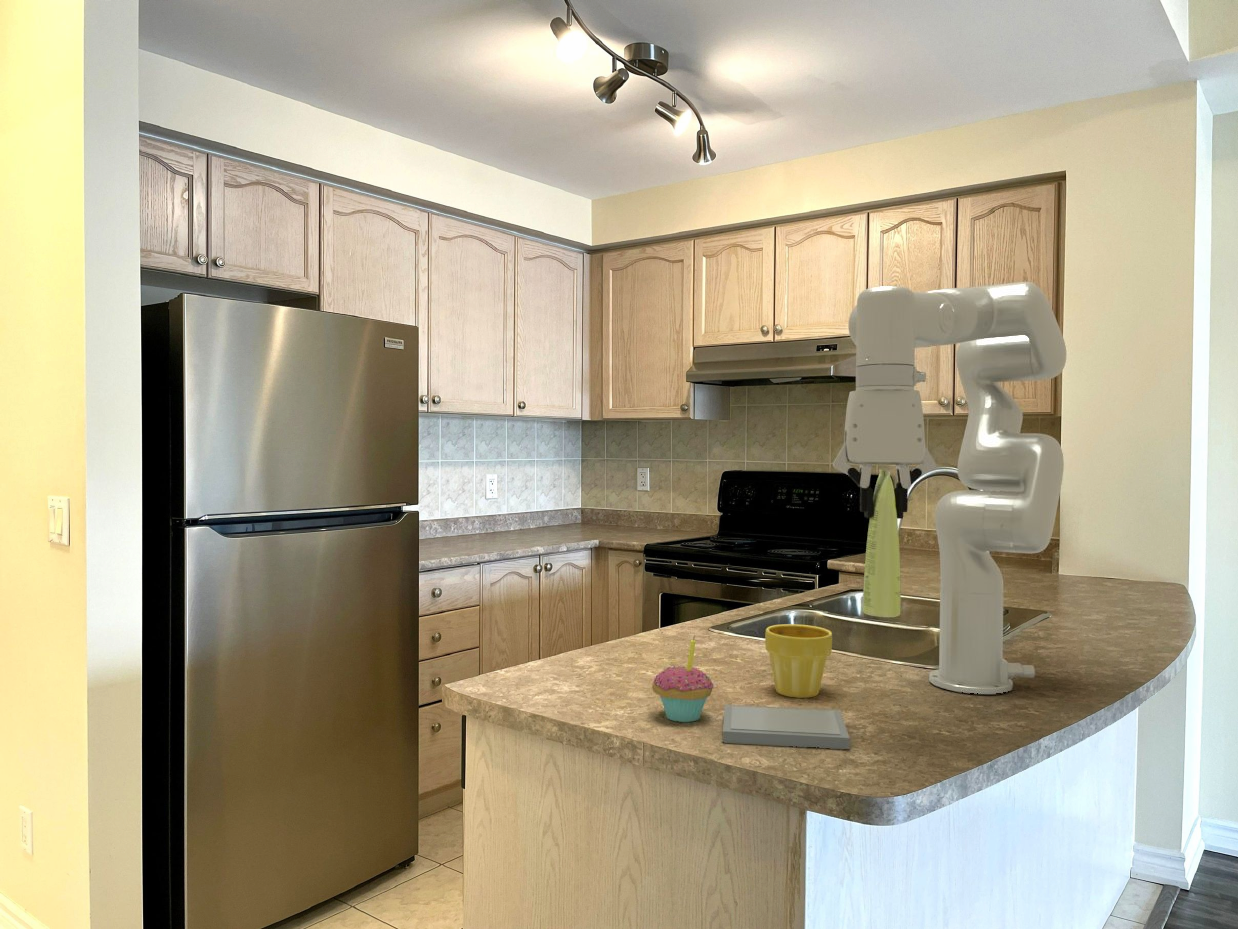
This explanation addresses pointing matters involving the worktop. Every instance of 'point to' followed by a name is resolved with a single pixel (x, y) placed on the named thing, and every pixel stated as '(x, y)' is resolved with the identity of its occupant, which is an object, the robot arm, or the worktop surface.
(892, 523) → the tube
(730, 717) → the grey flat block
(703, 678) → the cupcake
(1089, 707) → the worktop surface
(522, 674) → the worktop surface
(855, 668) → the worktop surface
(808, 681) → the plant pot
